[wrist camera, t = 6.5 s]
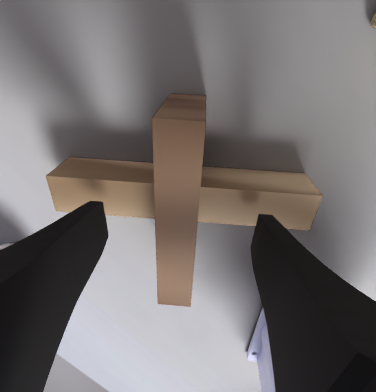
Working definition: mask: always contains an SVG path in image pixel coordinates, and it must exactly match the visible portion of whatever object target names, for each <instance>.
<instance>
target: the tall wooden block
mask: <svg viewBox="0 0 376 392" xmlns="http://www.w3.org/2000/svg"><path fill="white" fill-rule="evenodd" d="M205 127H206V96H201V95H185V94H170V95H169V97H168V98H167V99H166V101H165V102H164V103H163V104H162V106H161V107H160V108H159V110H158V111H157V112H156V114H155V115H154V116H153V118H152V133H153V166H154V199H155V231H156V264H157V296H158V304H165V305H177V306H188V307H190V306H191V295H192V283H193V271H194V259H195V247H196V235H197V223H198V211H199V199H200V187H201V175H202V163H203V151H204V139H205Z"/></svg>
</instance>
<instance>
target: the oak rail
mask: <svg viewBox="0 0 376 392" xmlns="http://www.w3.org/2000/svg"><path fill="white" fill-rule="evenodd" d="M46 178H47V182H48V185H49V189H50V192H51V196H52V199H53V203H54V206H55V209H56V211H62V212H72V211H73V210H75V209H77V208H78V207H80V206H82V205H83V204H85V203H87V202H89V201H100V202H103V204H104V211H105V215H114V216H127V217H140V218H153V219H155V199H154V166H153V163H147V162H132V161H118V160H104V159H89V158H75V157H69V158H67V159H66V160H65V161H64V162H62V163H61V164H60V165H59V166H57V167H56V168H55V169H54V170H53V171H51V172H50V173H49V174H48V175H46ZM322 197H323V195H322V194H321V193H320V191H319V190H318V189H317V188H316V186H315V185H314V184H313V182H312V181H311V180H310V179H309V177H308V176H307V175H306V174H305V173H291V172H276V171H262V170H248V169H233V168H219V167H204V166H202V175H201V187H200V199H199V211H198V222H205V223H218V224H232V225H245V226H256V223H257V219H258V215H259V214H268V215H273V216H274V217H275V218H276V219H277V220H278V221H279V222H280V223H281V224H282V225H283V226H284V227H285V228H286V229H297V230H310V228H311V225H312V223H313V220H314V217H315V215H316V212H317V210H318V207H319V205H320V202H321V200H322Z"/></svg>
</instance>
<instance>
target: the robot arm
mask: <svg viewBox="0 0 376 392" xmlns="http://www.w3.org/2000/svg"><path fill="white" fill-rule="evenodd" d="M107 239H108V230H107V223H106V217H105V211H104V204H103V202H100V201H89V202H87V203H85V204H83V205H82V206H80V207H78V208H77V209H75V210H73V211H72V212H70V213H68V214H67V215H65V216H64V217H62V218H60V219H59V220H57V221H55V222H54V223H52V224H50V225H48V226H47V227H45V228H43V229H41V230H39V231H38V232H36V233H34V234H32V235H30V236H28V237H26V238H24V239H22V240H20V241H18V242H16V243H14V244H12V245H10V246H8V247H6V248H3V249H1V250H0V392H43V390H44V387H45V384H46V381H47V378H48V375H49V372H50V369H51V367H52V364H53V361H54V358H55V355H56V352H57V350H58V347H59V344H60V342H61V339H62V337H63V334H64V331H65V329H66V326H67V324H68V321H69V319H70V316H71V314H72V312H73V309H74V307H75V305H76V302H77V300H78V298H79V296H80V294H81V292H82V291H83V289H84V287H85V285H86V283H87V281H88V279H89V278H90V276H91V274H92V272H93V270H94V268H95V266H96V264H97V262H98V261H99V259H100V257H101V255H102V252H103V250H104V247H105V244H106V241H107ZM251 256H252V265H253V270H254V274H255V278H256V282H257V286H258V290H259V294H260V298H261V302H262V306H263V307H262V310H261V313H260V316H259V319H258V322H257V325H256V328H255V331H254V334H253V337H252V340H251V343H250V346H249V349H248V352H247V359H248V360H249V361H257V364H258V370H259V376H260V382H261V389H262V392H376V301H374V300H372V299H371V298H369V297H368V296H366V295H365V294H363V293H362V292H360V291H359V290H357V289H356V288H354V287H353V286H352V285H350V284H349V283H347V282H346V281H345V280H343V279H342V278H341V277H339V276H338V275H337V274H335V273H334V272H333V271H331V270H330V269H329V268H328V267H326V266H325V265H324V264H323V263H322V262H320V261H319V260H318V259H317V258H316V257H315V256H314V255H312V254H311V253H310V252H309V251H308V250H307V249H306V248H305V247H304V246H303V245H302V244H301V243H300V242H298V241H297V240H296V239H295V238H294V237H293V236H292V235H291V233H290V232H289V231H288V230H287V229H286V228H285V227H284V226H283V225H282V224H281V223H280V222H279V221H278V220H277V219H276V218H275V217H274V216H273V215H268V214H259V215H258V219H257V223H256V227H255V231H254V235H253V239H252V244H251Z"/></svg>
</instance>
